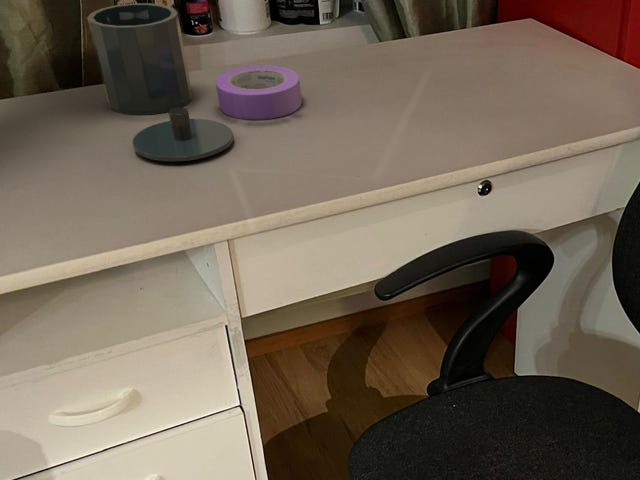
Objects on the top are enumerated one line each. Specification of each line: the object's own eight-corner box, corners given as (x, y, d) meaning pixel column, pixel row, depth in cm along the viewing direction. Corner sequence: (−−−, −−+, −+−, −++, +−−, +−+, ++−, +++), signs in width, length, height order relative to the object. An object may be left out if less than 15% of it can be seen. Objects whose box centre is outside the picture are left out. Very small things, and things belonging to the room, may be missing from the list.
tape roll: (288, 122, 120) (285, 95, 118) (207, 117, 121) (203, 90, 119) (311, 93, 130) (308, 67, 127) (235, 88, 131) (232, 62, 128)
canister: (100, 116, 121) (79, 27, 113) (117, 87, 130) (97, 3, 123) (186, 113, 122) (170, 26, 115) (196, 85, 131) (182, 2, 124)
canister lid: (126, 167, 108) (117, 131, 105) (143, 128, 118) (136, 94, 115) (229, 164, 109) (223, 128, 106) (238, 125, 119) (233, 92, 116)
